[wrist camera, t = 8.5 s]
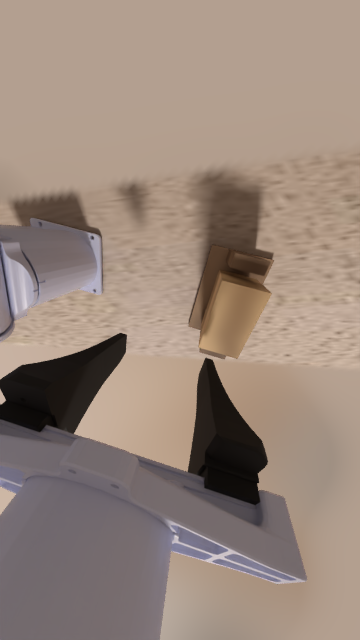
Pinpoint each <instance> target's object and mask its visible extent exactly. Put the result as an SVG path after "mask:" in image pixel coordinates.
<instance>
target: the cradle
mask: <svg viewBox="0 0 360 640" xmlns="http://www.w3.org/2000/svg"><path fill="white" fill-rule="evenodd" d="M273 262H274V260H271V259H267V258H263V257H259V256H255V255H252V254H248V253H244V252H240V251H236V250H232V249H228V248H224V247H220V246H216V245H212V246H211V250H210V253H209V257H208V260H207V263H206V267H205V270H204V274H203V277H202V281H201V284H200V288H199V291H198V295H197V298H196V302H195V305H194V309H193V312H192V316H191V319H190V323H189V327H192V328H196V329H199V330H201V324H202V321H203V318H204V315H205V312H206V309H207V306H208V303H209V300H210V297H211V293H212V290H213V287H214V284H215V281H216V278H217V275H218V272H219V269H220V270H223V271H227V272H231V273H235V274H239V275H243V276H247V277H250V278H254V279H257V280H258V281H259V282H260V283H261V284H262V285H263V283H264V281H265V279H266V276H267V274H268V272H269V270H270V268H271V266H272V264H273ZM199 352H201V353H204V354H208V355H211V356H214V357H218V358H221V359H225V357H226V355H223V354H219V353H216V352H212V351H209V350H205V349H202V348H200V351H199Z"/></svg>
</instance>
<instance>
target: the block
mask: <svg viewBox="0 0 360 640" xmlns="http://www.w3.org/2000/svg"><path fill="white" fill-rule="evenodd" d="M271 294H272V293H271V292H270V291H269V290H267V289H266V288H265V287H264V286H263V285H262V284H261V283H260V282H259V281H258V280H257V279H254V278H250V277H247V276H243V275H239V274H235V273H231V272H227V271H223V270H220V269H219V272H218V275H217V278H216V281H215V284H214V287H213V290H212V293H211V297H210V300H209V303H208V306H207V309H206V312H205V315H204V318H203V321H202V324H201V331H200V340H199V348H202V349H205V350H209V351H212V352H216V353H219V354H223V355H226V356H229V357H233V358H236V359H237V358H238V356H239V355H240V353H241V351H242V349H243V347H244V345H245V343H246V341H247V339H248V338H249V336H250V334H251V332H252V330H253V328H254V326H255V324H256V323H257V321H258V319H259V317H260V315H261V313H262V311H263V309H264V307H265V306H266V304H267V302H268V300H269V298H270V296H271Z"/></svg>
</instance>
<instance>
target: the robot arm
mask: <svg viewBox="0 0 360 640" xmlns="http://www.w3.org/2000/svg"><path fill="white" fill-rule="evenodd" d="M41 223H42V224H41ZM30 224H31V226H15V225H0V343H1V342H2V341H4V340H5V339H6V338H8V337H9V336H10V335H11V333H12V332H13V330H14V327H15V323H14V321H15V320H17V319H20V318H22V317H24V316H27V311H28V309H29V308H31V307H34V306H37V305H39V304H42V303H44V302H47V301H49V300H52V299H55V298H57V297H60V296H62V295H65V294H68V293H70V292H73V291H75V290H78V289H80V290H84V291H87V292H91V293H94V294H98V295H100V294H102V293H103V285H102V247H101V237H100V236H99V235H98V234H95V233H91V232H87V231H83V230H79V229H75V228H72V227H68V226H64V225H60V224H56V223H52V222H48V221H45V220H41V219H37V218H30ZM92 236H93V237H94V240H93V238H92ZM95 289H96V291H95ZM126 340H127V335H126V334H122V333H119V334H117V335H115V336H113V337H111V338H109V339H107V340H105V341H103V342H101V343H99V344H97V345H95V346H92V347H90V348H88V349H85V350H83V351H80V352H77V353H74V354H71V355H68V356H64V357H61V358H57V359H53V360H49V361H44V362H38V363H33V364H26V365H21V366H20V367H18V368H17V369H15V370H14V371H12V372H11V373H9V374H8V375H6V376H5V377H3V378H2V379H1V380H0V389H1V391H2V393H3V395H4V397H5V399H6V401H5V402H4V403H3V404H1V405H0V487H2V488H4V489H7V490H9V491H11V492H13V493H16V495H15V497H14V498H13V499H12V500H11V502H10V503H9V505H8V506H7V507H6V508H5V510H4V511H3V512H2V514H1V515H0V640H160V632H161V624H162V616H163V608H164V601H165V594H166V585H167V578H168V571H169V563H170V554H171V551H172V552H175V553H179V554H183V555H186V556H189V557H193V558H196V559H199V560H203V561H206V562H210V563H213V564H217V565H220V566H224V567H227V568H230V569H234V570H237V571H240V572H244V573H246V574H250V575H253V576H256V577H259V578H261V579H265V580H267V581H270V582H273V583H276V584H281V583H294V582H306V581H307V576H306V573H305V569H304V566H303V562H302V559H301V555H300V551H299V548H298V544H297V541H296V537H295V534H294V530H293V526H292V523H291V520H290V516H289V512H288V509H287V505H286V501H285V498H284V497H282V496H280V495H277V494H273V493H270V492H268V491H264V490H259V491H258V487H257V483H259V478H258V473H259V472H260V471H261V470H262V469H263V468H265V466H266V465H267V462H268V460H267V456H266V452H265V448H264V446H263V443H262V440H261V439H260V438H259V437H258V436H257V435H256V434H255V432H254V431H253V430H252V429H251V428H250V427H249V425H248V424H247V423H246V422H245V420H244V419H243V418H242V416H241V415H240V414H239V412H238V411H237V409H236V408H235V407H234V405H233V403H232V402H231V400H230V399H229V397H228V395H227V393H226V391H225V389H224V387H223V385H222V383H221V381H220V378H219V376H218V374H217V371H216V368H215V365H214V362H213V360H211V359H208V358H205V360H204V363H203V366H202V368H201V371H200V373H199V378H198V384H197V409H196V410H197V411H196V420H195V428H194V436H193V442H192V449H191V455H190V461H189V467H188V472H186V471H183V470H180V469H177V468H174V467H171V466H168V465H165V464H162V463H159V462H156V461H153V460H150V459H147V458H144V457H141V456H138V455H135V454H132V453H129V452H127V451H125V450H122V449H119V448H116V447H113V446H110V445H107V444H104V443H101V442H98V441H95V440H92V439H89V438H84V437H81V436H78V435H75V434H74V432H75V430H76V429H77V427H78V425H79V423H80V421H81V419H82V418H83V416H84V414H85V412H86V411H87V409H88V407H89V405H90V404H91V402H92V401H93V399H94V397H95V396H96V394H97V392H98V391H99V389H100V388H101V386H102V385H103V383H104V382H105V381H106V379H107V378H108V377H109V376H110V374H111V373H112V372H113V370H114V369H115V368H116V367H117V365H118V364H119V363H120V361H121V359H122V358H123V356H124V354H125V353H126Z"/></svg>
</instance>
